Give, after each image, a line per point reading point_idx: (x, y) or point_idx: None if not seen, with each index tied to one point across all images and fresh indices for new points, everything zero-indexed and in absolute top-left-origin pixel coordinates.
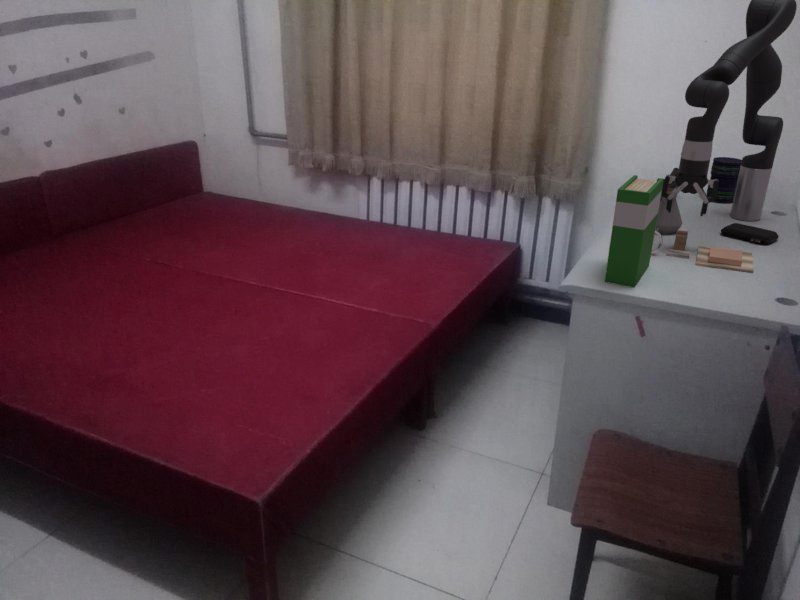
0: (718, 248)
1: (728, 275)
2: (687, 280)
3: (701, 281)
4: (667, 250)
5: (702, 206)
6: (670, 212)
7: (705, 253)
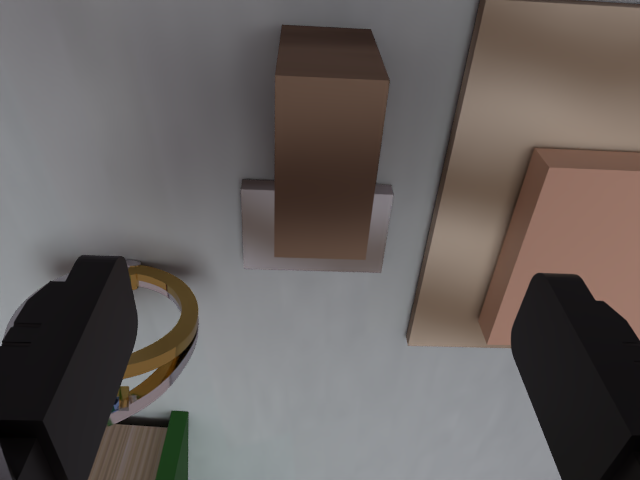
0: (600, 186)
1: None
2: (353, 475)
3: (405, 469)
4: (243, 221)
5: (561, 464)
6: (136, 325)
7: (497, 178)
